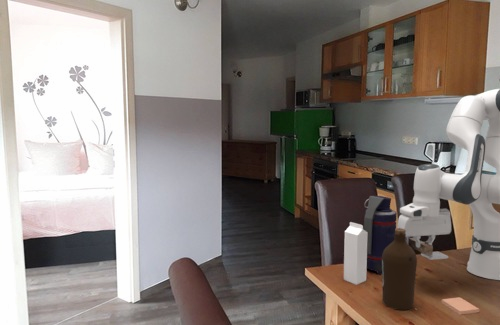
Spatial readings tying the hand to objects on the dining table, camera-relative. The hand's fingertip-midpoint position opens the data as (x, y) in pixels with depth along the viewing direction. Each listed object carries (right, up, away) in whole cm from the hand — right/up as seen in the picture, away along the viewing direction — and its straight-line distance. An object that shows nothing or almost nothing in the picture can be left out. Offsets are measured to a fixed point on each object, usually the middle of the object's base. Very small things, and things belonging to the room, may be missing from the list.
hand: (423, 246), depth 137 cm
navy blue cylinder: (-11, -13, +16) cm, 24 cm away
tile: (+4, -15, -11) cm, 19 cm away
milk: (-23, -14, +6) cm, 28 cm away
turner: (0, -2, -1) cm, 2 cm away
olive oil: (-14, -16, -12) cm, 24 cm away
